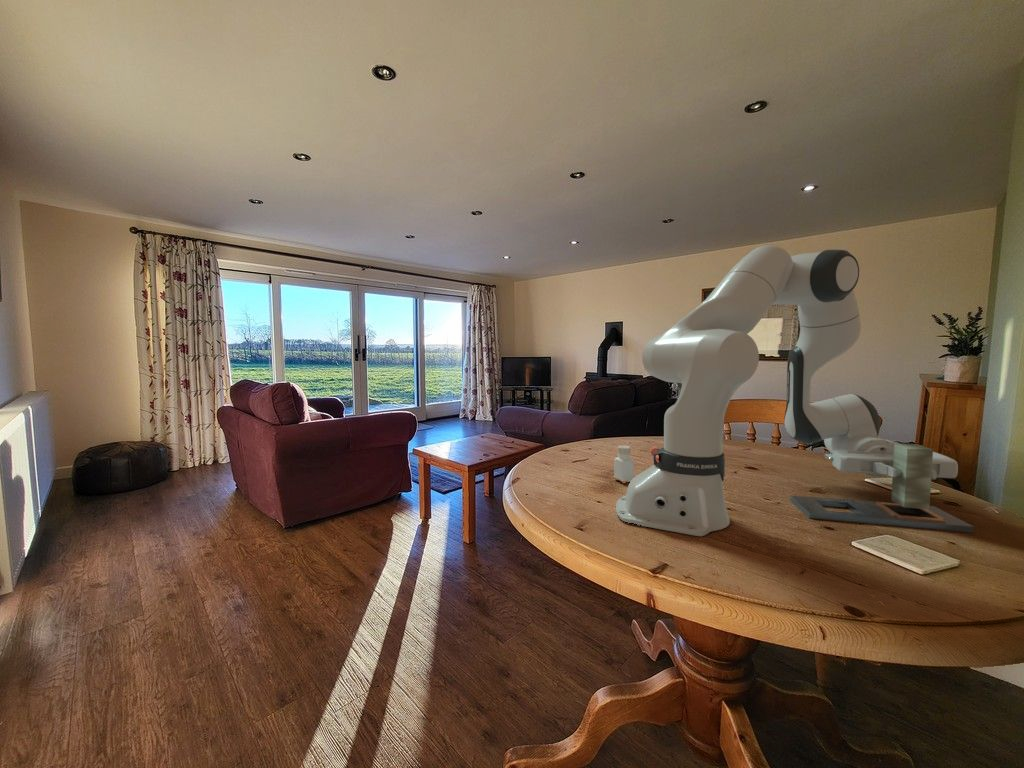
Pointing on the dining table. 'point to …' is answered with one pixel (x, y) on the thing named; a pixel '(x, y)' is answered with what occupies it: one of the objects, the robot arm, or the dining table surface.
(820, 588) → the dining table surface
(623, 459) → the white pill bottle
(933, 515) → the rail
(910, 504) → the peg
